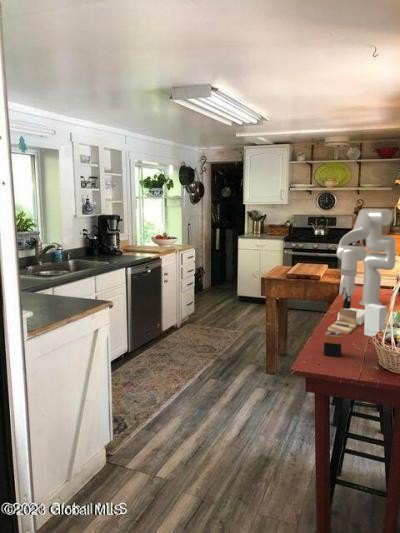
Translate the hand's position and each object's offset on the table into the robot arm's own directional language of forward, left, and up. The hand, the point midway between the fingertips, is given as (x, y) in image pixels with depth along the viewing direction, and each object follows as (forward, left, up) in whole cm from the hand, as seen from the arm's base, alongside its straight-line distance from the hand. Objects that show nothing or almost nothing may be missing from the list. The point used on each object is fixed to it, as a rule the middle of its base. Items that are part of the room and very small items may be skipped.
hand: (346, 308), depth 218 cm
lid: (+4, 0, -10) cm, 10 cm away
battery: (+43, +8, -9) cm, 45 cm away
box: (-14, 0, -9) cm, 17 cm away
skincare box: (+8, +16, -9) cm, 20 cm away
